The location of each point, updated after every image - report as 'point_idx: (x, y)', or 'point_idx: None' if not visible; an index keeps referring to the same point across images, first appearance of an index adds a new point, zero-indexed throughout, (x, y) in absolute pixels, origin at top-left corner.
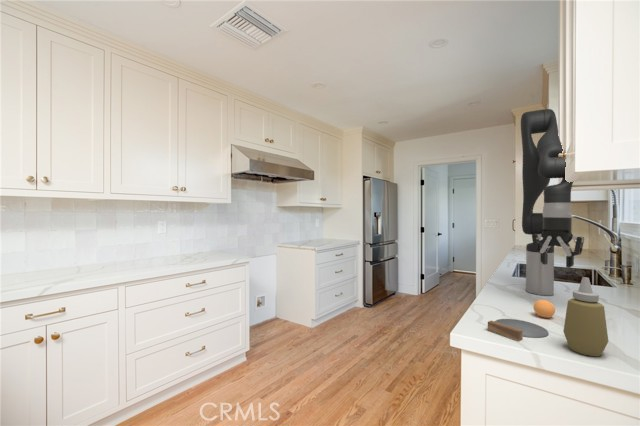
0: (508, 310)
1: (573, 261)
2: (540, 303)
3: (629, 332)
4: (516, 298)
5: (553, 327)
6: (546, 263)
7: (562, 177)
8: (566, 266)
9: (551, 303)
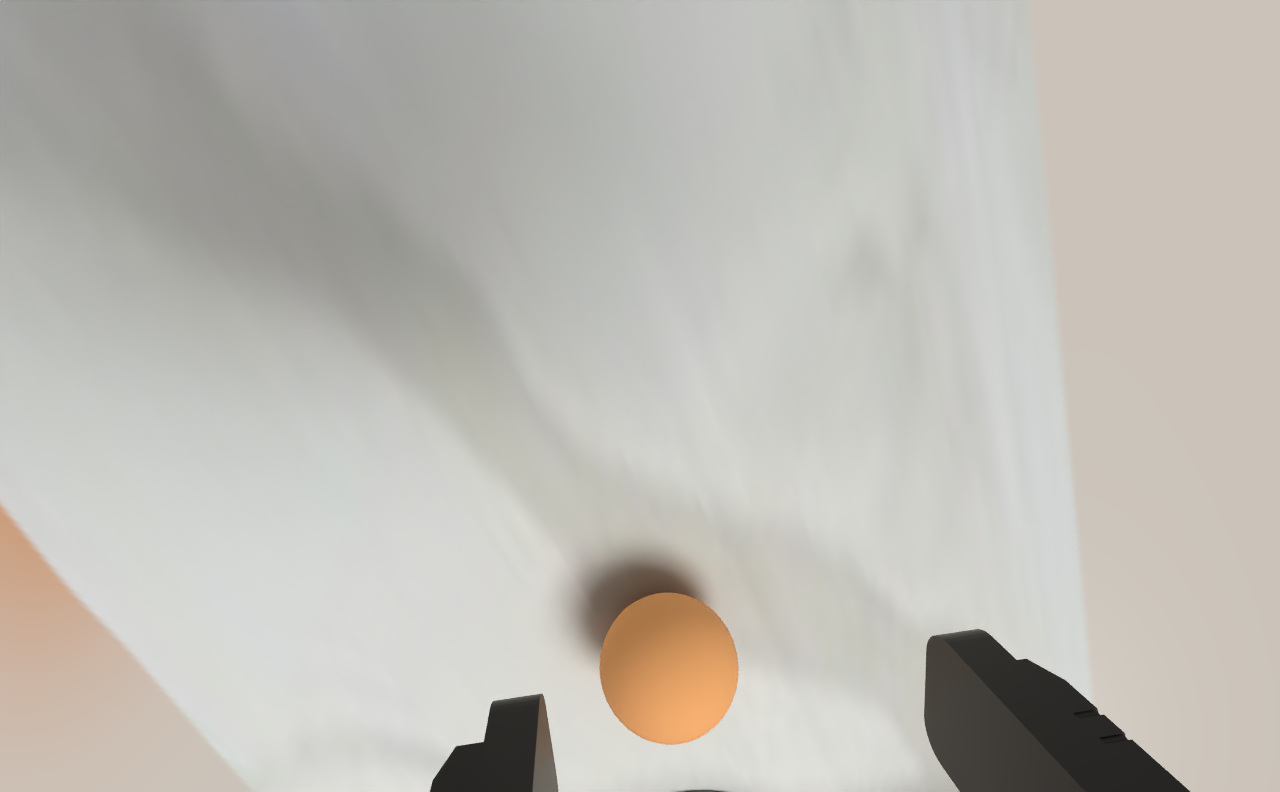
0: (460, 709)
1: (1126, 749)
2: (673, 743)
3: (1046, 427)
4: (239, 340)
5: (774, 737)
6: (547, 741)
7: None
8: (941, 756)
9: (722, 682)
